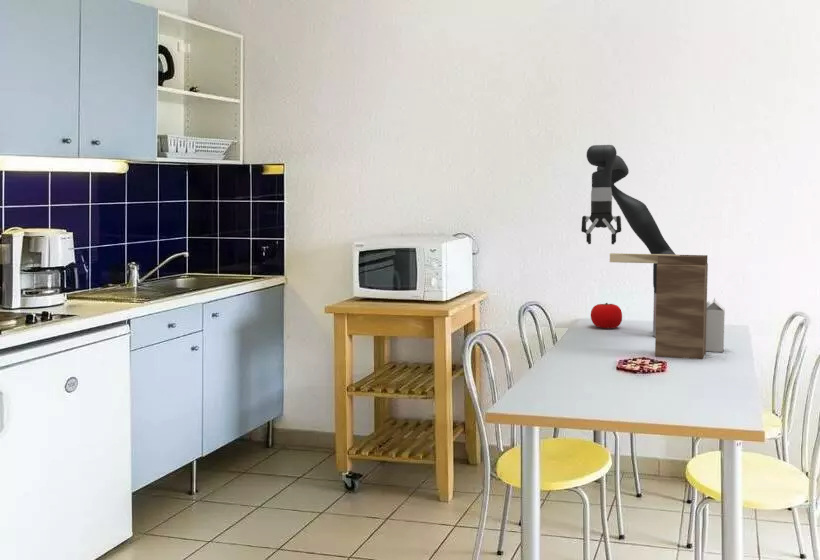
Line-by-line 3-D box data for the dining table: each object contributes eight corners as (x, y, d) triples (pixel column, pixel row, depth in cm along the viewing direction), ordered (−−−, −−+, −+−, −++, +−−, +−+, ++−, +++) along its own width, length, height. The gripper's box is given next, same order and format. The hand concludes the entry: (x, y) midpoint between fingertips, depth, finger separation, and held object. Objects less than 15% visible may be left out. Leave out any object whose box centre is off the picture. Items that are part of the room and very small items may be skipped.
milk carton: (723, 349, 360) (725, 297, 358) (723, 352, 353) (724, 299, 351) (703, 348, 362) (704, 296, 360) (702, 351, 355) (703, 298, 353)
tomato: (625, 330, 406) (625, 305, 405) (593, 330, 406) (593, 305, 405) (618, 325, 420) (618, 300, 419) (587, 325, 420) (588, 301, 419)
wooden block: (611, 261, 356) (611, 253, 356) (679, 263, 348) (680, 254, 347) (609, 262, 353) (609, 253, 353) (679, 263, 345) (679, 255, 344)
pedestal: (659, 350, 357) (661, 253, 354) (705, 353, 352) (708, 254, 348) (655, 356, 346) (657, 256, 343) (702, 359, 341) (705, 257, 337)
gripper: (580, 200, 362) (579, 244, 364) (619, 200, 357) (619, 245, 359) (584, 199, 369) (583, 243, 371) (622, 199, 364) (622, 243, 366)
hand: (601, 244), depth 365 cm, fingers open, 8 cm apart
